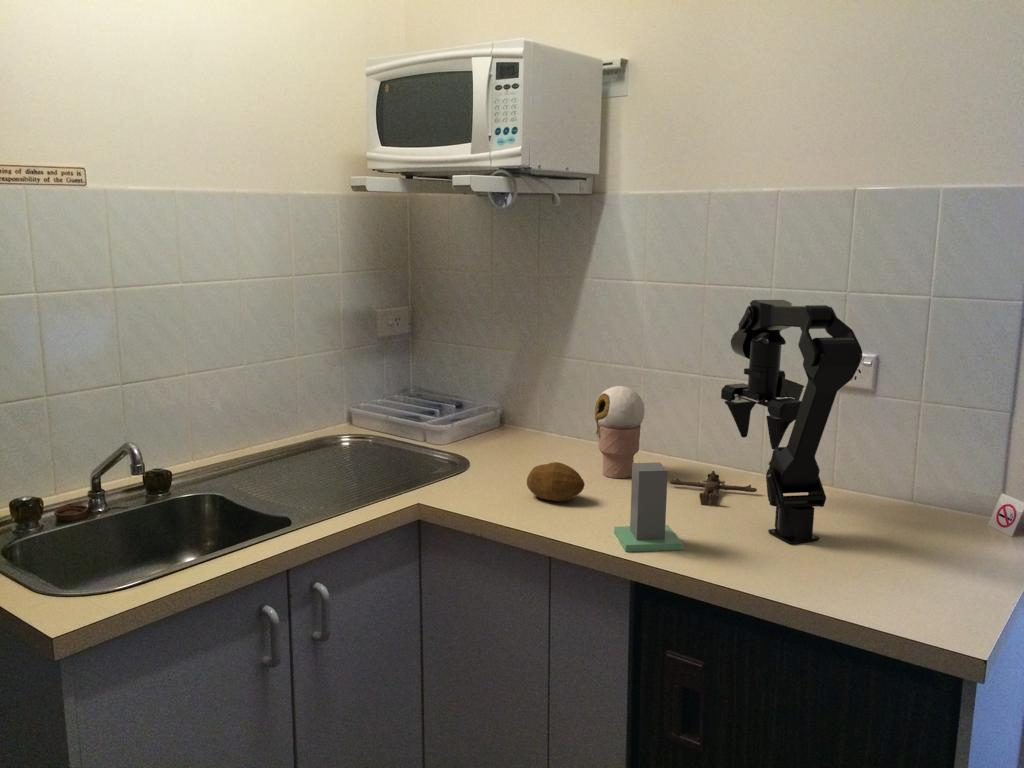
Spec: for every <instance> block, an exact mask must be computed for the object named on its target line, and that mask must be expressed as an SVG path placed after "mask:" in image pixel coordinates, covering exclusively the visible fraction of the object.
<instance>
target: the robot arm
mask: <svg viewBox="0 0 1024 768" xmlns="http://www.w3.org/2000/svg"><path fill="white" fill-rule="evenodd" d="M792 327H794V328H800V331H801V334H800V337H799V341H798V343H797V344H798V348H799V351H800V352H801V355H802V358H803V362H802V367H803V370H804V372H805V374H806V377H807V383H806V387H805V385H804V384H801V383H798V382H795V381H794V380H789V379H787V378H786V372H785V371H784V370H782V369H781V357H782V346H785V345H786V344H787V343H786V340H785V338H784V336H783V335H781V331H783V330H786V329H790V328H792ZM810 330H825V332H826V333H827V334H828V335H829V336H830V337H813V338H812V335H811V333H810ZM730 347H731V349H732V351H733V352H734V353H736V354H737V355H739V356H741V357H743V358H746V359H747V360H749V362H748V364H749V365H748V368H747V367H746V368H744V369H743V374H744V375H747V376H748V378H747V384H746V383H743V382H742V383H733V384H725V385H724V386H723V387H722V388H721V391H720V392H721V395H720V399H721V400H724V404H725V405H726V406H727V408H728V409H729V411H730V414H731V416H732V418H733V420H734V422H735V425H736V427H737V429H738V432H739V433H740V437H741V438H743V439H744V438H747V437H748V434H749V433H748V432H749V429H750V428H749V427H750V421H751V420H750V419H751V411H752V410H753V408H754V407H755V405H756V404H757V405H759V406H762V407H767V412H768V414H769V415H765V416H766V423H767V428H768V429H767V430H768V436H769V442H770V443H769V444H770V447H771V449H772V450H773V451H772V455H771V459H770V461H769V463H768V465H769V467H768V469H767V470H766V475H765V481H766V483H765V484H766V492H767V493H766V494H767V499H768V502H769V505H770V506H772V507H775V519H774V528H769V529H768V531H767V532H768V533H769V534H770V535H772V536H773V537H776V538H778V539H780V540H782V541H784V542H785V543H788V544H790V545H793V544H795V545H796V544H800V543H807V542H814V541H819V540H820V536H818V535H817V534H814V532H813V530H814V519H815V517H814V516H815V507H817V508H818V507H820V508H823V507H825V503H826V501H827V495H826V492H825V489H824V487H823V484H822V480H821V478H820V472H821V469H820V467H819V465H818V462H817V460H816V454H817V451H818V449H819V445H820V442H821V440H822V437H823V434H824V432H825V428H826V425H827V423H828V419H829V416H830V414H831V412H832V407H833V405H834V403H835V401H836V400H835V399H836V396H837V394H838V391H839V390H840V389H841V388H843V387H844V386H845V385H846V384H848V383H849V382H851V381H852V380H853V378H854V376H855V374H856V372H857V371H858V369H859V366H860V365H861V362H862V359H863V349H862V347H861V344H860V343H859V340H858V339H857V335H856V333H855V332H854V330H853V329H852V328H851V327H849V326H848V325H847V324H846V323H844V322H843V321H842V320H841V319H840V318H839V317H837V314H836V313H835V310H834V309H833V307H832V306H829V305H825V304H823V305H822V304H818V305H817V304H808V305H793V304H792V302H790V301H788V300H785V299H753V300H751V301H750V302H749V305H748V306H747V307H746V309H745V312H744V314H743V315H742V317H741V319H740V321H739V323H738V329H737V330H736V331H735V332H734V333H733V334H732V336H731V339H730ZM804 387H805V389H804ZM803 390H804V392H803ZM802 393H803V396H802ZM801 396H802V399H801ZM800 399H801V400H800ZM793 422H794V423H793ZM792 423H793V427H792V430H791V433H790V436H789V440H788V442H787V445H786V446H781V447H780V444H781V441H782V440H783V437H784V435H785V433H786V431H787V429H788V427H789V426H790V425H791V424H792ZM801 493H802V494H801ZM803 493H804V494H803ZM805 493H807V494H805ZM784 494H797V495H784ZM798 494H799V495H798Z"/></svg>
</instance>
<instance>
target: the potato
mask: <svg viewBox="0 0 1024 768" xmlns="http://www.w3.org/2000/svg"><path fill="white" fill-rule="evenodd" d="M526 486H527V488H528V489H529V491H530V492H531V493H532V494H533V495H534V496H535V497H537V498H540V499H542V500H547V501H554V502H565V501H567V500H571V499H573V498H574V497H576V496H578V495H579V494H580V493H582V492H583V490H584V488H585V481H584V479H583V478H582V476H581V475H580V473H579V472H577V471H576V469H574V468H573V467H571V466H570V465H567V464H565V463H561V462H555V461H554V462H549V463H544V464H539V465H537V466H534V467H533V468H532V469H531V470H530V471H529V474H528V475H527V479H526Z"/></svg>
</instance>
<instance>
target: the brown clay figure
mask: <svg viewBox="0 0 1024 768" xmlns="http://www.w3.org/2000/svg"><path fill="white" fill-rule="evenodd" d="M668 483H669V484H671V485H676V486H688V487H695V488H703V489H704V491H703V492H699V494H698V497H699V500H700V505H701V506H707V505H708V501H709V505H710V506H711V507H717V503H718V499H719V491H720V490H725V491H738V492H746V493H757V491H758V489H757V488H756V487H752V484H748V485H746V486H741V485H740V486H738V485H729V484H726V481H725V480H720V475H719V474H717V473H716V472H715V470H712V471H711V473H708V474H707V478H706V479H702V482H699V481H697V482H695V481H687V480H681V479H679V478H677V477H675V480H674V479H670V480H669V481H668Z"/></svg>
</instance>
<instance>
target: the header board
mask: <svg viewBox="0 0 1024 768" xmlns="http://www.w3.org/2000/svg"><path fill="white" fill-rule="evenodd" d="M613 534H614V535H615V537H616V538H618V539H617V540H618V542H619V543H620V545H621V547H622V549H623V550H624V552H626V553H628V552H629V553H630V552H658V550H664V551H683V542H682V541H681V539H679V537H678V536H677V534H676V533H675V532H674V531H673V530H672V528H671V527H670V526H669V524H665V539H663V540H636V539H635V537H634V535H633V534H632V532H631V531H630V525H628V526H626V525H625V526H622V525H621V526H614V527H613Z"/></svg>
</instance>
